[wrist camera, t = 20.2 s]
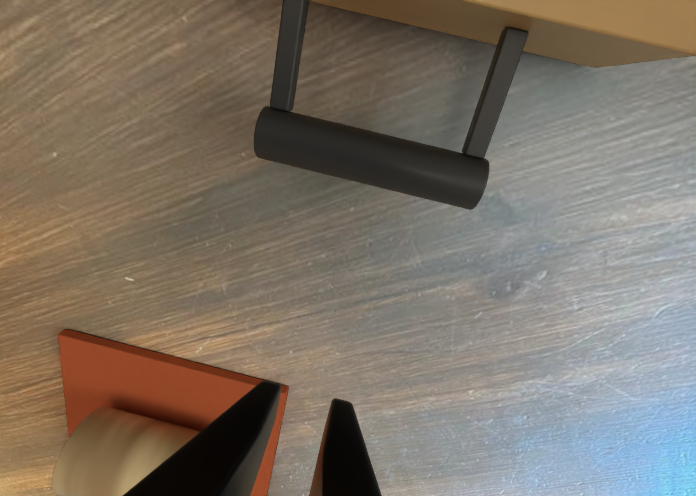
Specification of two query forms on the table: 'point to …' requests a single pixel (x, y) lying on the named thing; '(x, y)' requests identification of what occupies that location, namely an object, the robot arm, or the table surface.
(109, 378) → the mat
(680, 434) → the table surface
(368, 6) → the drawer
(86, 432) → the roller
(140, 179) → the table surface
